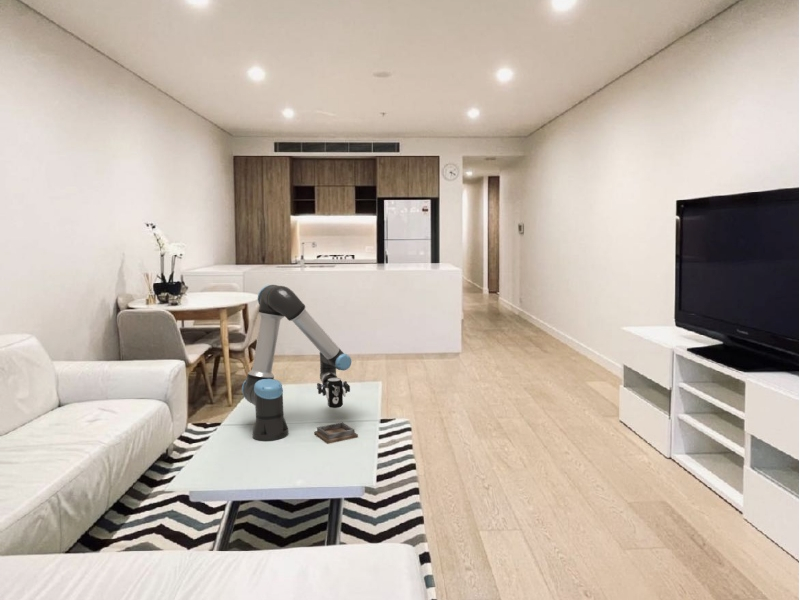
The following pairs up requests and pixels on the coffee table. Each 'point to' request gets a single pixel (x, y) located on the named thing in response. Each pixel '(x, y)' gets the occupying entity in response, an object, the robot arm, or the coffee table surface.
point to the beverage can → (335, 392)
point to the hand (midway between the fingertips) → (336, 394)
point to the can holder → (335, 433)
